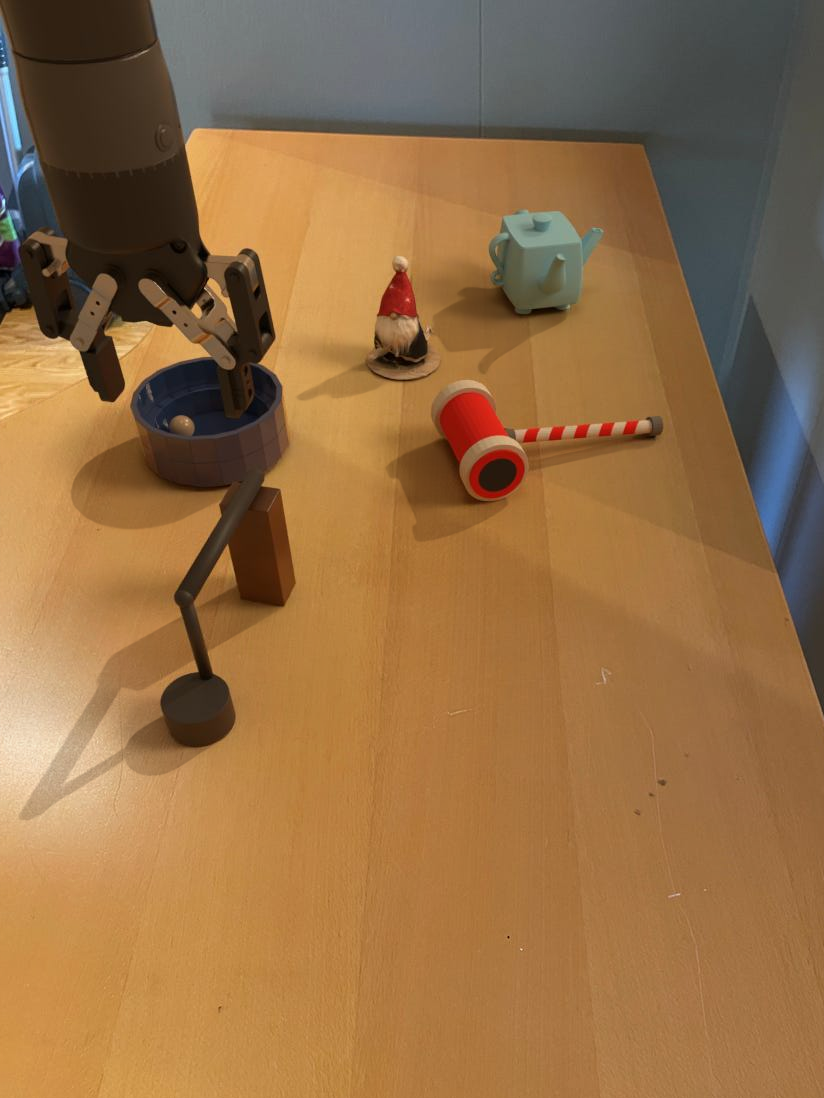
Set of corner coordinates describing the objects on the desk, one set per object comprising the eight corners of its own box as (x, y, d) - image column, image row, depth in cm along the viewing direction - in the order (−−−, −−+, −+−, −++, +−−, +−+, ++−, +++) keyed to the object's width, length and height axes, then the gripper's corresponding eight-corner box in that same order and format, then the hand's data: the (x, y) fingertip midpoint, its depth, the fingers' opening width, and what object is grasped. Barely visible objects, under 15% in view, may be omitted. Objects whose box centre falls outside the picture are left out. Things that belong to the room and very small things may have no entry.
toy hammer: (634, 402, 104) (642, 349, 99) (683, 466, 96) (694, 411, 92) (430, 438, 99) (429, 383, 94) (464, 508, 91) (465, 452, 87)
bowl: (120, 480, 93) (104, 427, 89) (180, 399, 103) (168, 348, 98) (260, 501, 91) (251, 448, 87) (308, 417, 101) (302, 366, 97)
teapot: (470, 270, 124) (471, 189, 117) (574, 259, 126) (581, 180, 119) (507, 341, 112) (511, 257, 105) (621, 328, 115) (633, 245, 107)
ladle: (220, 752, 72) (189, 645, 63) (157, 740, 72) (117, 633, 64) (304, 578, 84) (287, 469, 76) (249, 569, 85) (227, 460, 76)
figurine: (394, 369, 100) (355, 262, 101) (374, 404, 110) (339, 305, 110) (465, 352, 103) (427, 247, 103) (440, 387, 113) (405, 290, 113)
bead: (168, 443, 96) (162, 422, 95) (178, 429, 98) (173, 409, 96) (190, 446, 96) (186, 425, 94) (200, 432, 98) (195, 412, 96)
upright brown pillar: (239, 599, 82) (218, 504, 75) (252, 575, 84) (232, 481, 77) (284, 606, 82) (267, 512, 74) (296, 582, 84) (280, 488, 76)
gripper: (263, 125, 53) (298, 385, 64) (21, 102, 54) (99, 360, 66) (210, 179, 48) (260, 451, 59) (-55, 152, 49) (45, 422, 61)
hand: (175, 403), depth 63 cm, fingers open, 8 cm apart
